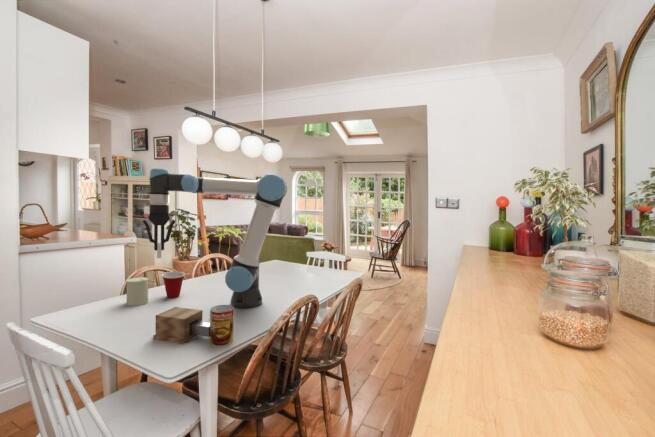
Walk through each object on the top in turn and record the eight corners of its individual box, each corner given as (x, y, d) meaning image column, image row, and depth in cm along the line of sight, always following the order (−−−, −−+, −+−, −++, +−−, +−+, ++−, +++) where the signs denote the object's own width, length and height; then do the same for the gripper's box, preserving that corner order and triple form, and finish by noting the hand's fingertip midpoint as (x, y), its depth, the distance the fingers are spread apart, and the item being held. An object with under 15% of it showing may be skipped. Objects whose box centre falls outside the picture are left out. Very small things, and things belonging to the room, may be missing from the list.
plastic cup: (160, 300, 157) (160, 276, 157) (162, 294, 167) (162, 272, 167) (184, 298, 162) (184, 275, 161) (184, 293, 171) (185, 271, 171)
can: (138, 306, 147) (138, 281, 147) (121, 305, 149) (121, 279, 148) (152, 301, 156) (152, 277, 156) (136, 299, 158) (136, 275, 158)
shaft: (158, 332, 116) (158, 319, 116) (167, 327, 121) (167, 315, 120) (207, 339, 111) (208, 326, 111) (215, 334, 116) (215, 321, 116)
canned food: (208, 347, 108) (208, 312, 108) (211, 337, 116) (212, 305, 115) (232, 345, 110) (232, 311, 109) (234, 336, 117) (234, 304, 117)
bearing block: (153, 339, 113) (153, 315, 113) (174, 327, 124) (175, 306, 123) (184, 343, 110) (184, 319, 110) (204, 331, 121) (204, 309, 120)
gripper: (174, 204, 145) (174, 255, 146) (142, 203, 138) (141, 257, 139) (176, 204, 139) (176, 258, 140) (142, 204, 132) (142, 260, 133)
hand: (159, 257), depth 140 cm, fingers closed
